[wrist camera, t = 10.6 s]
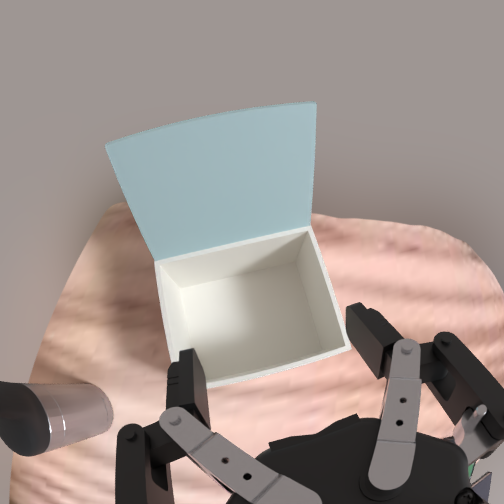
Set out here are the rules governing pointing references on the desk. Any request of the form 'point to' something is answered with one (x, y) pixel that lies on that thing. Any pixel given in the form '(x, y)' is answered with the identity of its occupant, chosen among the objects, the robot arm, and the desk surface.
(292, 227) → the lid flap
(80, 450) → the desk surface
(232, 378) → the carton
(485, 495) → the notebook
